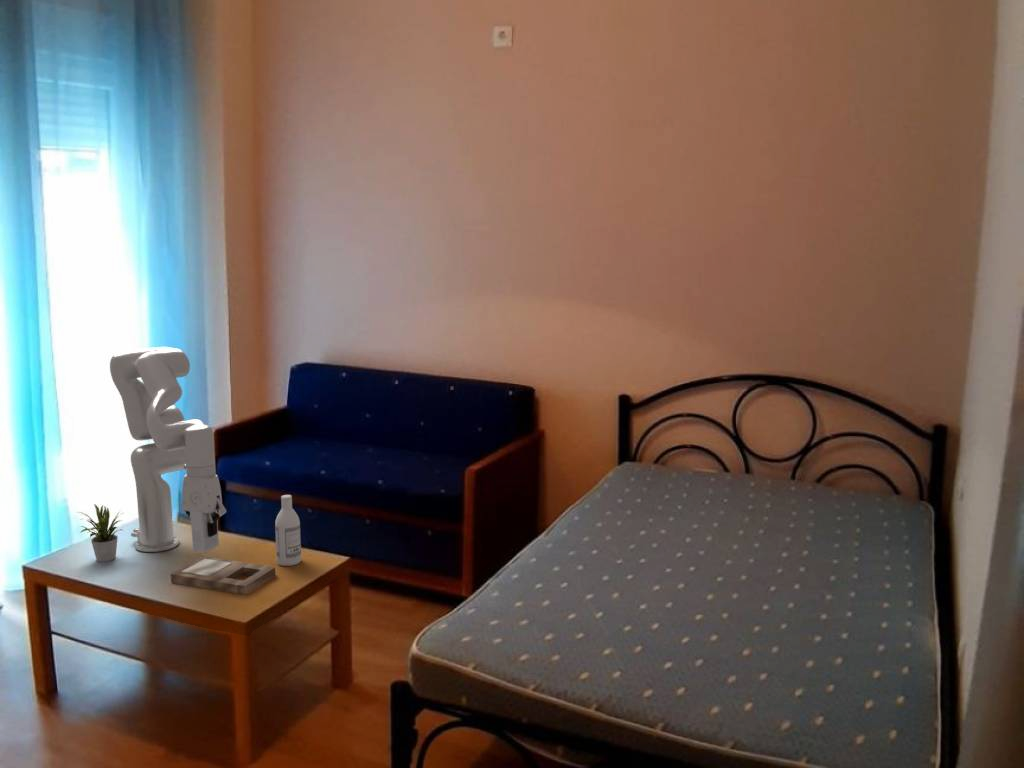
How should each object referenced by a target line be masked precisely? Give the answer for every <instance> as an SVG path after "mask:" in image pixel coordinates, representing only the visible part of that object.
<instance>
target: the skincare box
mask: <svg viewBox="0 0 1024 768" xmlns="http://www.w3.org/2000/svg"><path fill="white" fill-rule="evenodd" d="M190 516H191V520H190V525H191V527H190V528H191V539H192V550H193V552H199V553H201V554H202V553H204V554H206V553H207V552H209V551H212V550H214V549H215V548H217V547H219V546H220V540H219V529H218V527H219V526H218V523H217V534H216V535H214V536H212V537H209V536H208V526H207V524H208V523H209V519H208V515H207V514H206V513H203V512H202V511H198V510H190ZM212 516H213V513H212Z"/></svg>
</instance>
